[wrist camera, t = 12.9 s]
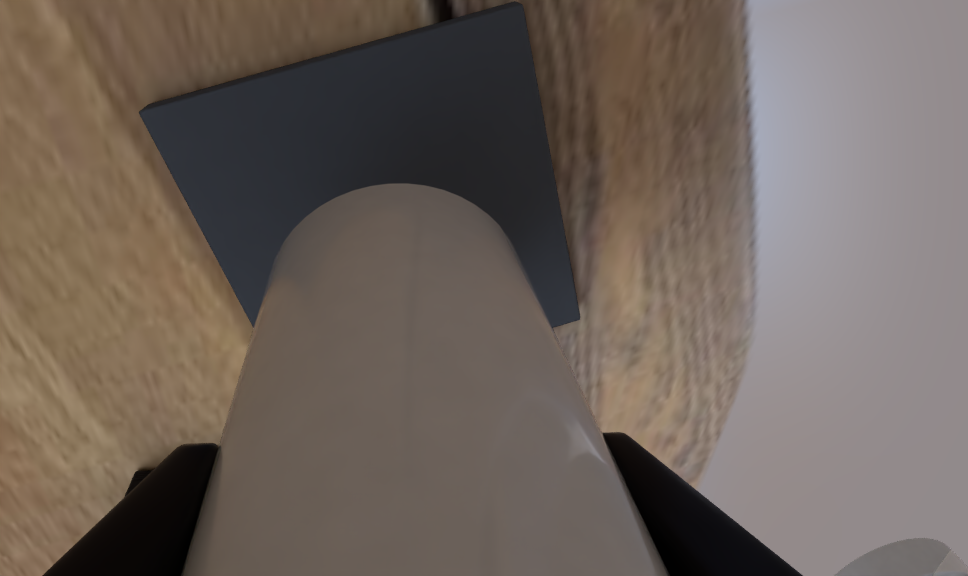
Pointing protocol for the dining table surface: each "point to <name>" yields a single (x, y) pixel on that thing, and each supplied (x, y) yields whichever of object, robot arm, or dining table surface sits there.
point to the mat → (373, 145)
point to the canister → (411, 413)
